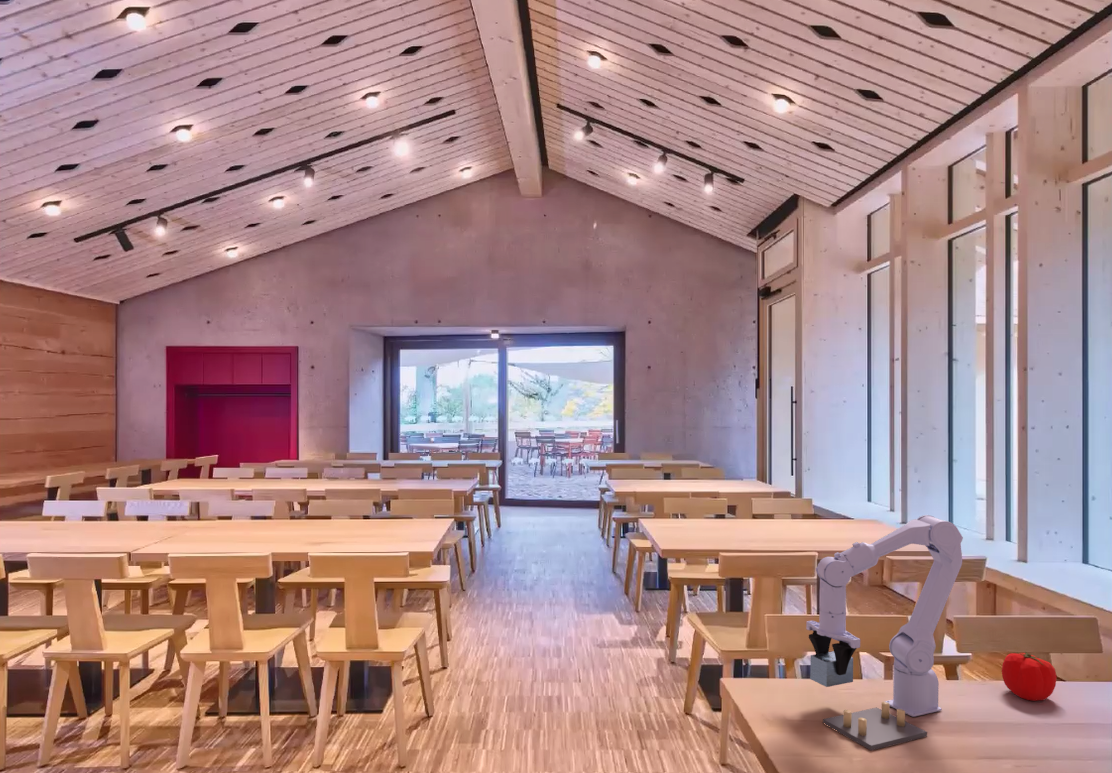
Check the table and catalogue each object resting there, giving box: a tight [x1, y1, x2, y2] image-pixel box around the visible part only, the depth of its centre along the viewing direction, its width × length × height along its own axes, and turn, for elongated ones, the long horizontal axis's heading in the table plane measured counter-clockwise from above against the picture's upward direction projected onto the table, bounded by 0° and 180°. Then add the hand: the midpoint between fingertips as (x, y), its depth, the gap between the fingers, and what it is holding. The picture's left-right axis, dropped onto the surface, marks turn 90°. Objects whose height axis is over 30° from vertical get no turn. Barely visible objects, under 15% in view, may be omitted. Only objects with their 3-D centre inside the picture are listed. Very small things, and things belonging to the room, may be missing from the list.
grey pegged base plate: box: [822, 701, 928, 751], centre depth 156 cm, size 16×13×4 cm
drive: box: [809, 650, 854, 688], centre depth 168 cm, size 8×5×6 cm, turn 114°
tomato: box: [1001, 651, 1058, 702], centre depth 175 cm, size 11×13×10 cm
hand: (832, 669), depth 168 cm, fingers closed on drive, 5 cm apart
